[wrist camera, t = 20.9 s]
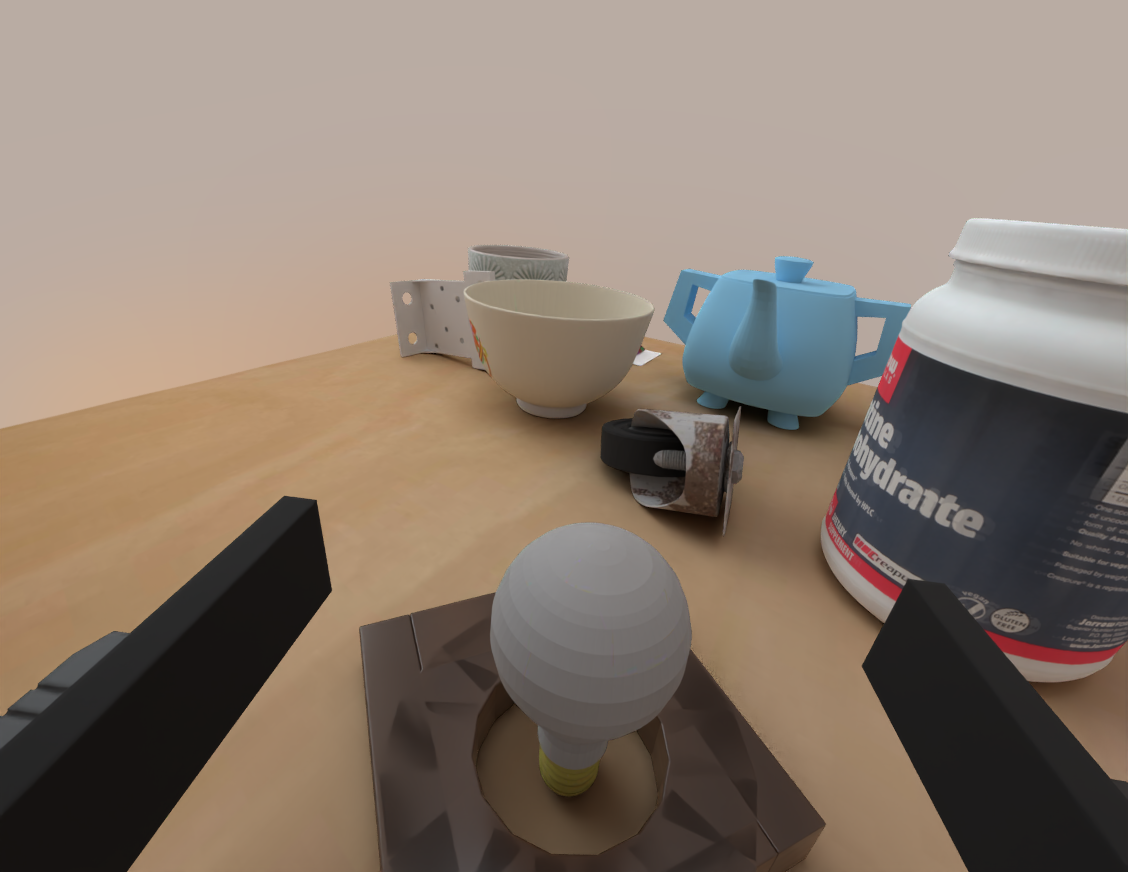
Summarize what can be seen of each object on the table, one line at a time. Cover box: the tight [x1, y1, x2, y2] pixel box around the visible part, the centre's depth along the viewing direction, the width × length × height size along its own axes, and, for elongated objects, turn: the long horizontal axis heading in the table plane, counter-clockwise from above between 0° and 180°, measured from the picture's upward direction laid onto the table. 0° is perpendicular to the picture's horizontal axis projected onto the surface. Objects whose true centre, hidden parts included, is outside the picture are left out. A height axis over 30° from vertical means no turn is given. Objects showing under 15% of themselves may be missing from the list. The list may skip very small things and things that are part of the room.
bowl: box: [464, 279, 654, 419], centre depth 43 cm, size 16×16×10 cm
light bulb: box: [490, 523, 692, 797], centre depth 14 cm, size 6×5×10 cm
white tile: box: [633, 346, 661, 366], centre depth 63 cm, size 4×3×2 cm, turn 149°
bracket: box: [390, 271, 495, 370], centre depth 51 cm, size 11×4×10 cm, turn 54°
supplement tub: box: [821, 218, 1128, 682], centre depth 23 cm, size 13×13×18 cm
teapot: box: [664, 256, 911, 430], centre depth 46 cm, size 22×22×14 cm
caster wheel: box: [601, 406, 744, 537], centre depth 33 cm, size 7×11×10 cm
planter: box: [468, 245, 569, 282], centre depth 62 cm, size 12×12×11 cm
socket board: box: [359, 592, 826, 872], centre depth 17 cm, size 12×13×2 cm
